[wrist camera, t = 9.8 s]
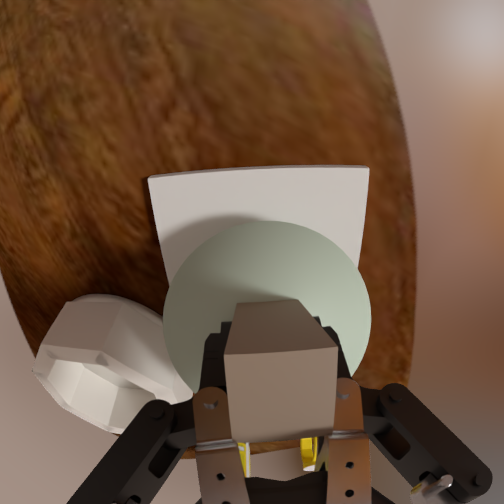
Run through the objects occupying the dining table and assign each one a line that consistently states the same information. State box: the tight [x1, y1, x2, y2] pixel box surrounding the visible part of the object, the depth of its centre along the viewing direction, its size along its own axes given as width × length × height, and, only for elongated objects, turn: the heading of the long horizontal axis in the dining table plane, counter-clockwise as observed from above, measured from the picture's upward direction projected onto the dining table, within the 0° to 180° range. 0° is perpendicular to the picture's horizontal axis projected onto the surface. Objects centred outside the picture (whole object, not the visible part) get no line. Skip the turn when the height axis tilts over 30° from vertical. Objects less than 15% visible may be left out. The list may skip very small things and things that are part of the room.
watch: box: [300, 437, 317, 471], centre depth 27 cm, size 6×3×6 cm, turn 174°
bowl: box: [32, 294, 193, 434], centre depth 20 cm, size 12×12×6 cm
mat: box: [148, 165, 369, 286], centre depth 18 cm, size 12×12×1 cm
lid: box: [163, 221, 371, 443], centre depth 11 cm, size 11×11×8 cm
